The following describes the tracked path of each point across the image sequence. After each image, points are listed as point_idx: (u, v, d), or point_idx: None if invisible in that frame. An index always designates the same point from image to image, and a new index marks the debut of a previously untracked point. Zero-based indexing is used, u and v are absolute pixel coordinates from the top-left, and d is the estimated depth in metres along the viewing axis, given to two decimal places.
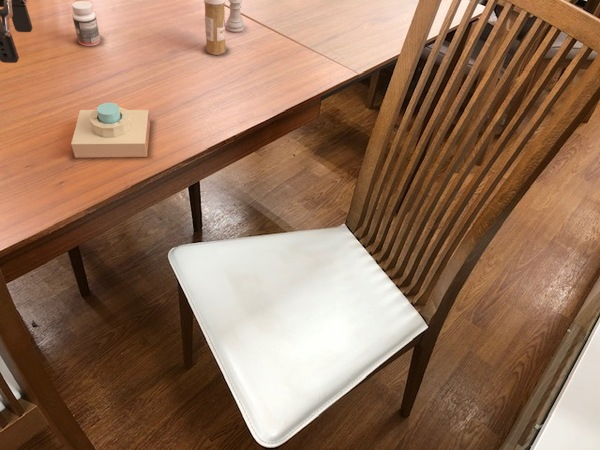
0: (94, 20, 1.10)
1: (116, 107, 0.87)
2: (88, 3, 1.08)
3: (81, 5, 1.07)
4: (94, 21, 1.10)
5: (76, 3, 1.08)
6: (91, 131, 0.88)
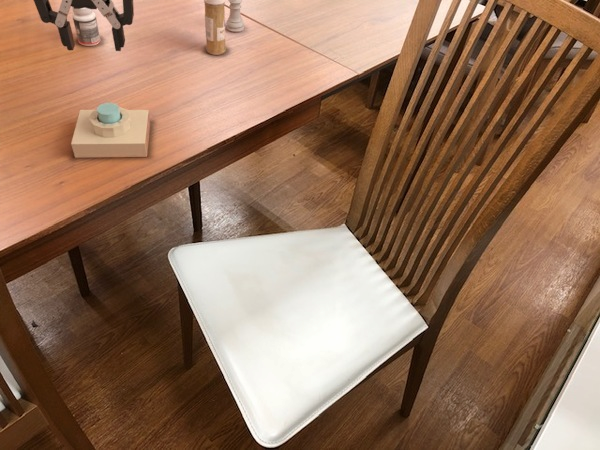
0: (94, 20, 1.10)
1: (116, 107, 0.87)
2: None
3: None
4: (94, 21, 1.10)
5: None
6: (91, 131, 0.88)
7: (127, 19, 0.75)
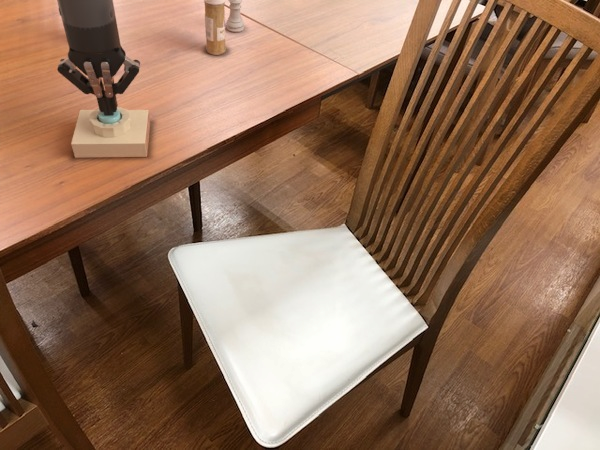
0: None
1: (117, 112, 0.87)
2: None
3: None
4: None
5: None
6: (91, 131, 0.88)
7: (120, 90, 0.83)
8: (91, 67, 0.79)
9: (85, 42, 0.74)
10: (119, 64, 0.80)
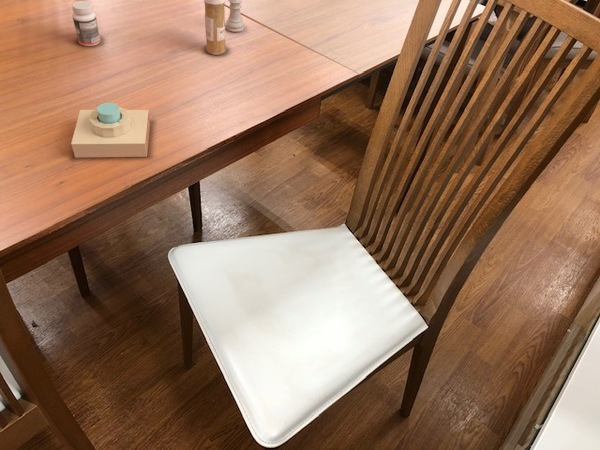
0: (94, 20, 1.10)
1: (116, 107, 0.87)
2: (88, 3, 1.08)
3: (81, 5, 1.07)
4: (94, 21, 1.10)
5: (76, 3, 1.08)
6: (91, 131, 0.88)
7: None
8: None
9: None
10: None
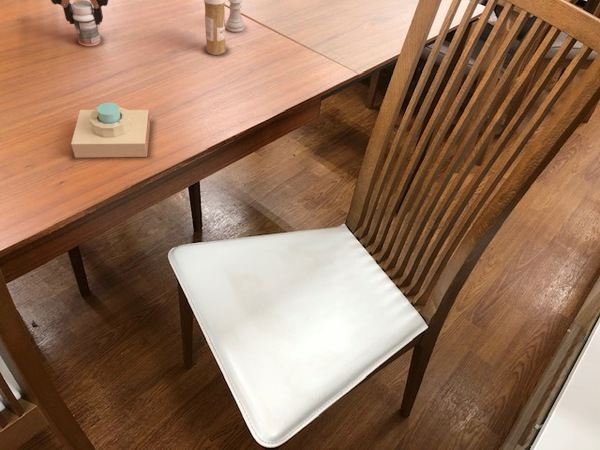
0: (94, 20, 1.10)
1: (116, 107, 0.87)
2: (88, 3, 1.08)
3: (81, 5, 1.07)
4: (94, 21, 1.10)
5: (76, 3, 1.08)
6: (91, 131, 0.88)
7: (103, 2, 1.07)
8: None
9: None
10: None
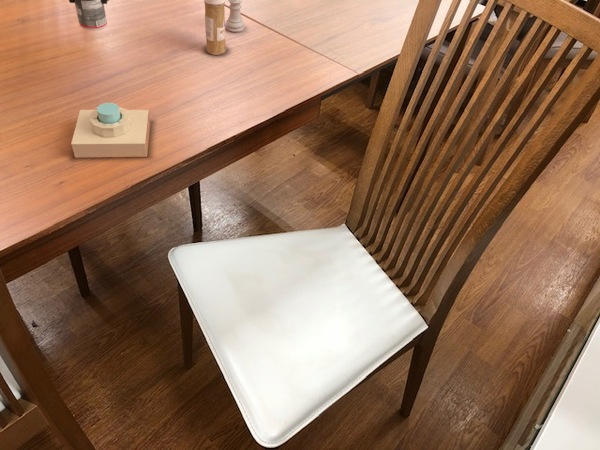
0: None
1: (116, 107, 0.87)
2: None
3: None
4: None
5: None
6: (91, 131, 0.88)
7: None
8: None
9: None
10: None
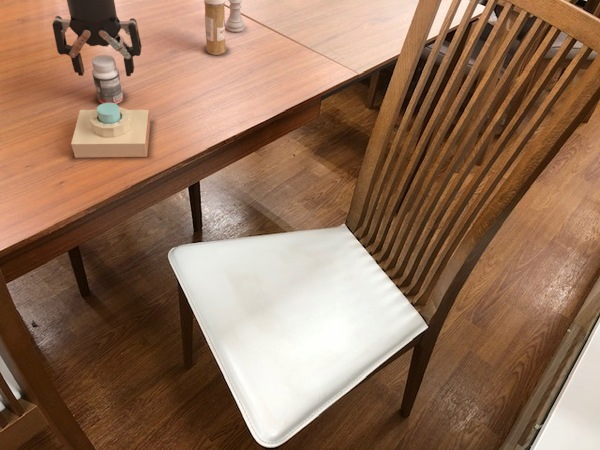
0: (117, 77, 0.96)
1: (116, 107, 0.87)
2: (110, 58, 0.94)
3: (102, 61, 0.93)
4: (117, 78, 0.96)
5: (97, 58, 0.94)
6: (91, 131, 0.88)
7: (136, 52, 0.92)
8: (88, 36, 0.88)
9: (85, 11, 0.83)
10: (115, 33, 0.89)
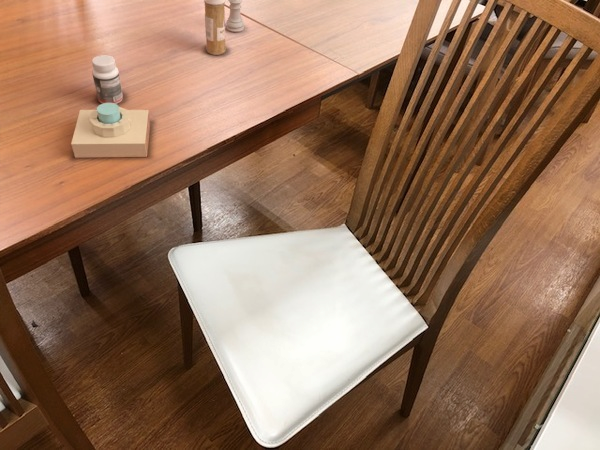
0: (117, 77, 0.96)
1: (116, 107, 0.87)
2: (110, 58, 0.94)
3: (102, 61, 0.93)
4: (117, 78, 0.96)
5: (97, 58, 0.94)
6: (91, 131, 0.88)
7: None
8: None
9: None
10: None
